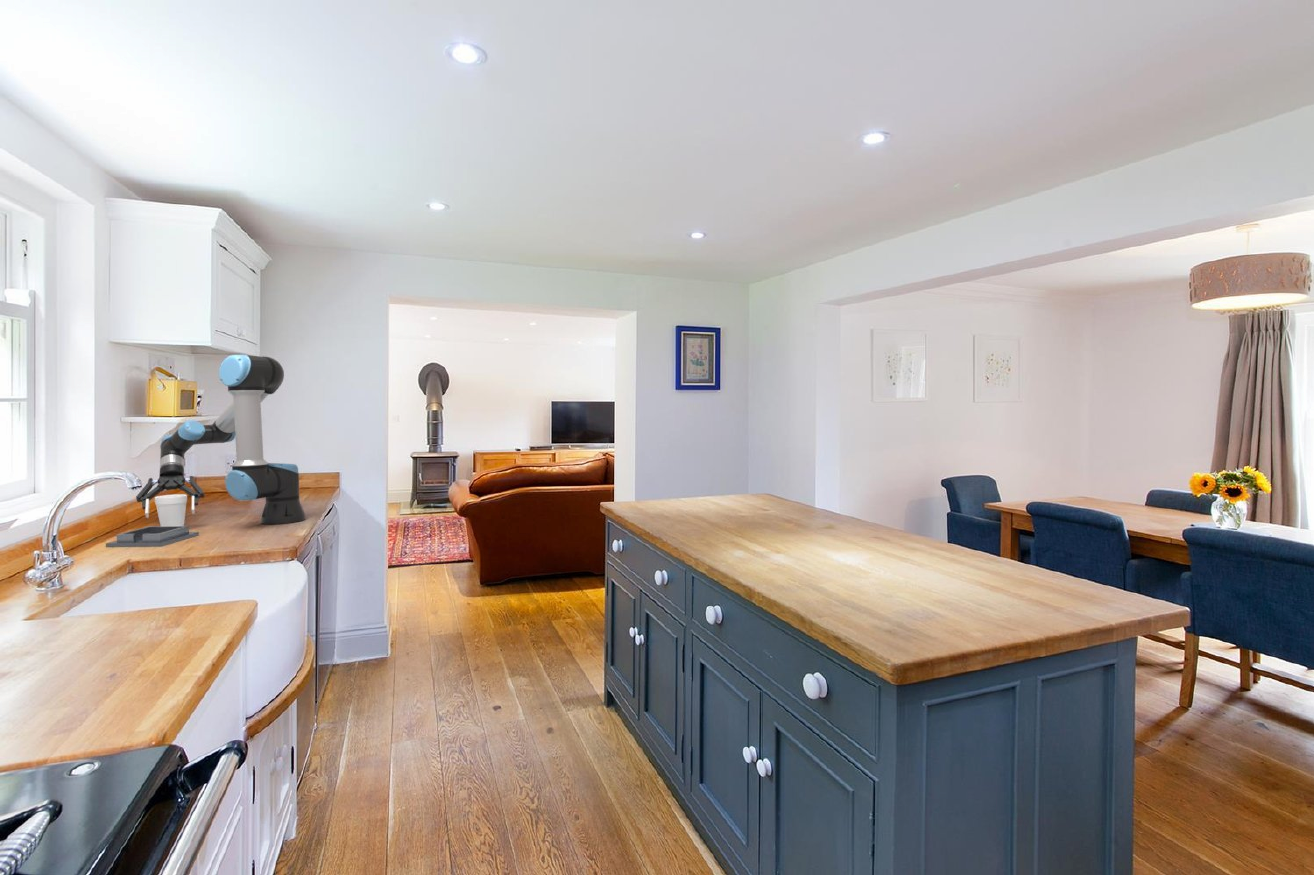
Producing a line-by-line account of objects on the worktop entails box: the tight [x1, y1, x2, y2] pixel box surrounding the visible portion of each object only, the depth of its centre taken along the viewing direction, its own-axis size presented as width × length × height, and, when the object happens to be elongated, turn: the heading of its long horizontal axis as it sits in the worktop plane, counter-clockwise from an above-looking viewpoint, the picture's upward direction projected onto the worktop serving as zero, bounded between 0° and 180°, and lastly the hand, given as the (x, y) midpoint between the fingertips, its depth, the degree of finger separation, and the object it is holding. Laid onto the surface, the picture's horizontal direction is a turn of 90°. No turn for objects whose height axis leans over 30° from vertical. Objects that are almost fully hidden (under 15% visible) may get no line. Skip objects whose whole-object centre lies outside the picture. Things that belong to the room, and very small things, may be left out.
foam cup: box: [154, 493, 188, 526], centre depth 240 cm, size 10×9×13 cm
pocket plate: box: [105, 525, 200, 548], centre depth 223 cm, size 18×18×4 cm
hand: (170, 513), depth 239 cm, fingers open, 13 cm apart
